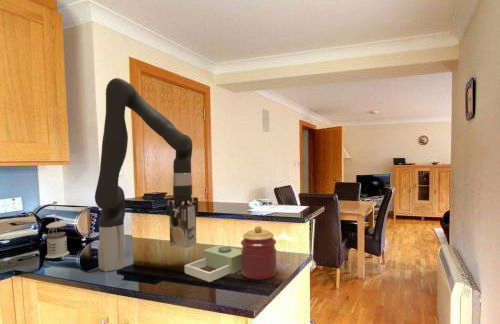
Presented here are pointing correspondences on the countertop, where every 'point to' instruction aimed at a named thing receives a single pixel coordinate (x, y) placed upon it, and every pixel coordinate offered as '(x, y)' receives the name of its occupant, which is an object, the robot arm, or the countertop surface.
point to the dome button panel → (216, 263)
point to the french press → (56, 240)
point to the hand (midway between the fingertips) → (183, 224)
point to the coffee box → (184, 227)
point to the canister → (258, 254)
